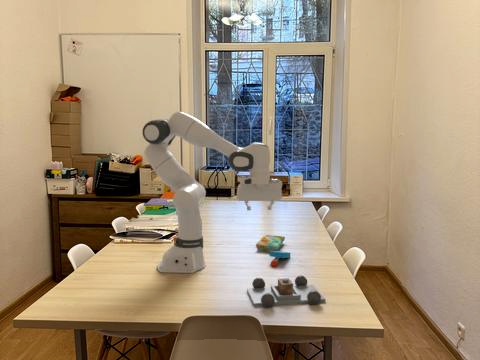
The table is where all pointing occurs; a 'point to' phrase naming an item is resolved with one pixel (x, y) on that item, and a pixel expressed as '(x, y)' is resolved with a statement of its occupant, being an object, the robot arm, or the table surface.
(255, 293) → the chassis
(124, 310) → the table surface
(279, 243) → the puzzle game
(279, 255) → the lever
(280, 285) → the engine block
